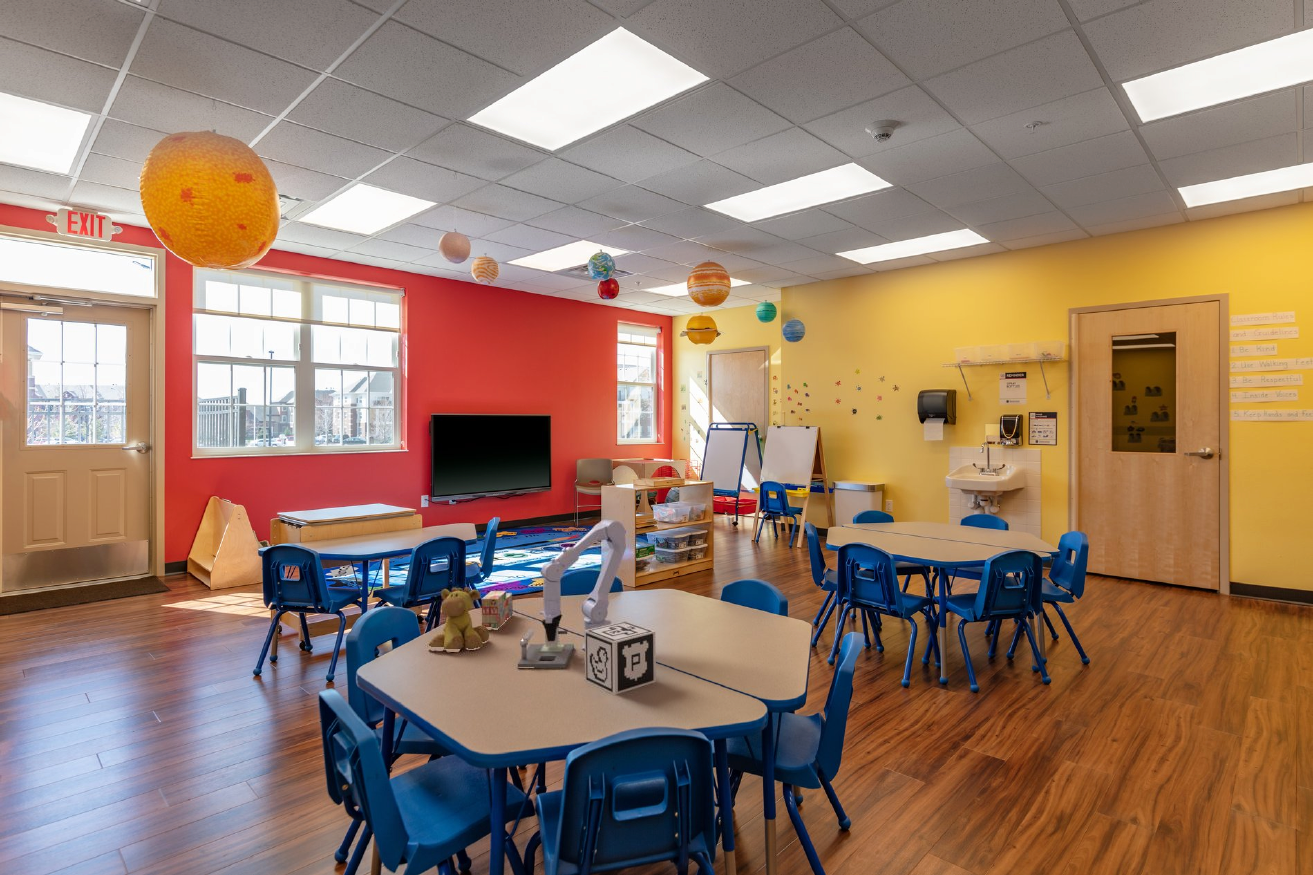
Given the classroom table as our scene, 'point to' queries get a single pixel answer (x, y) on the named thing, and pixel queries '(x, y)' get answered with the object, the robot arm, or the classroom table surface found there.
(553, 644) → the plug
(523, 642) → the ball-topped lever
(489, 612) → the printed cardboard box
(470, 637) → the giraffe plush
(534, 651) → the socket plate
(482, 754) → the classroom table surface
